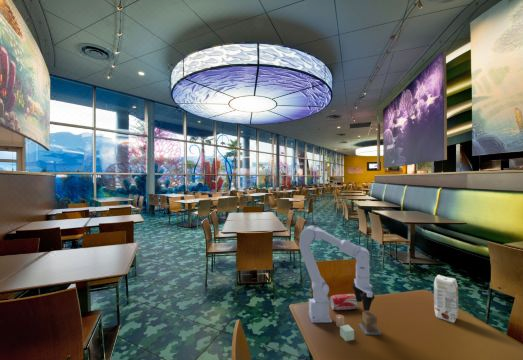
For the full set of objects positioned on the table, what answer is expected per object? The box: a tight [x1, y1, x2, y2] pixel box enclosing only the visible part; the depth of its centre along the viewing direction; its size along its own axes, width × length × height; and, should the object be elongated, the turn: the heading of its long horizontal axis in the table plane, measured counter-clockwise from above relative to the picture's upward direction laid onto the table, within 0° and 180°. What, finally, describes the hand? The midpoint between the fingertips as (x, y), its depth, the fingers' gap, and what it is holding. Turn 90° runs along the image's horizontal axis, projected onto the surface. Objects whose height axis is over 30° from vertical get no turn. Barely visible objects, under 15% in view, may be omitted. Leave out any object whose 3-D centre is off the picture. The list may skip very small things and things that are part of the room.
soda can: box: [329, 293, 359, 311], centre depth 123 cm, size 7×7×13 cm
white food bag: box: [433, 274, 459, 324], centre depth 114 cm, size 8×9×19 cm
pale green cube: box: [339, 324, 355, 342], centre depth 100 cm, size 4×4×4 cm
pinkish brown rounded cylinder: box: [335, 313, 345, 329], centre depth 108 cm, size 4×4×4 cm
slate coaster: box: [358, 323, 383, 336], centre depth 105 cm, size 7×7×1 cm
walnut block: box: [361, 311, 378, 332], centre depth 105 cm, size 4×4×6 cm
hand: (362, 305), depth 107 cm, fingers open, 7 cm apart
